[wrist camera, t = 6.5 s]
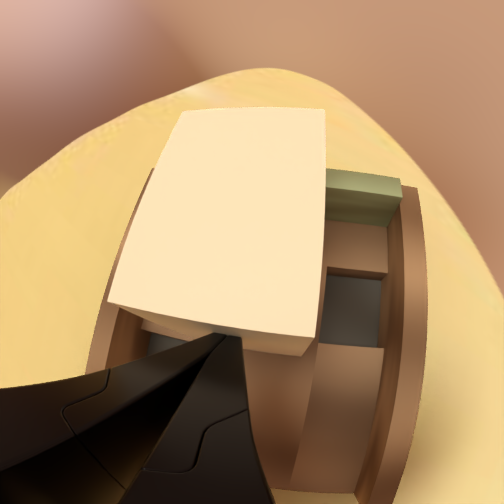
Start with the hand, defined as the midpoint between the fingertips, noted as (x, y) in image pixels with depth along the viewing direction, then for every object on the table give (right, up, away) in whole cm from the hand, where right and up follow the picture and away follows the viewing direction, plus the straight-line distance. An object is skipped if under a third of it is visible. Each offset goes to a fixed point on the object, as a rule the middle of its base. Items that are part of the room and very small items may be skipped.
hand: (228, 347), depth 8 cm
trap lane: (+1, -2, +7) cm, 7 cm away
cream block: (+1, +1, +7) cm, 7 cm away
